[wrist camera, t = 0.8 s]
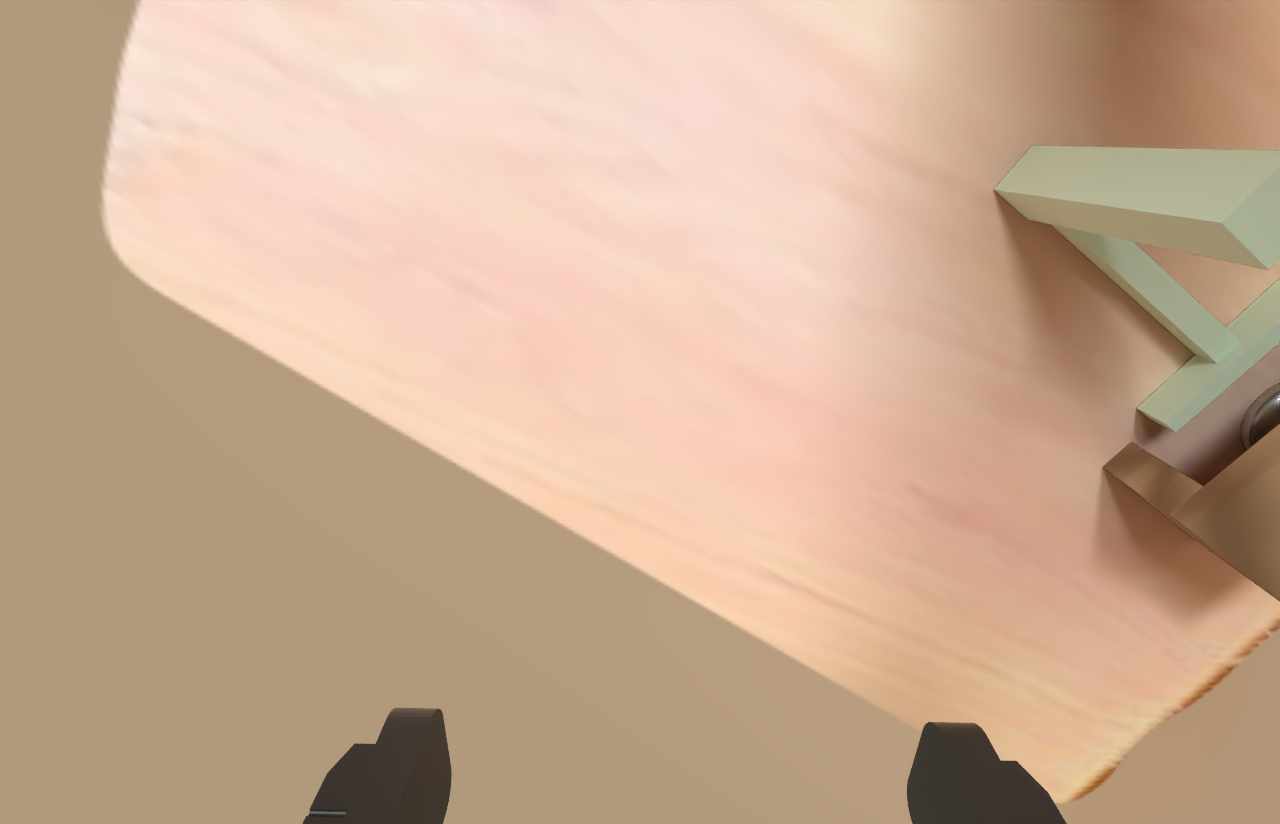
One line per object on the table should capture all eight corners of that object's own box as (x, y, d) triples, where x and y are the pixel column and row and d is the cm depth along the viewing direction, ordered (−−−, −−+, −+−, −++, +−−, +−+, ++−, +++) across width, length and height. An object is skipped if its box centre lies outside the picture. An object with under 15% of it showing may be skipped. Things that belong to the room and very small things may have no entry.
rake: (1088, 80, 29) (1408, 41, 17) (1294, 286, 32) (1675, 372, 21) (943, 246, 32) (1128, 312, 20) (1147, 417, 35) (1406, 559, 23)
